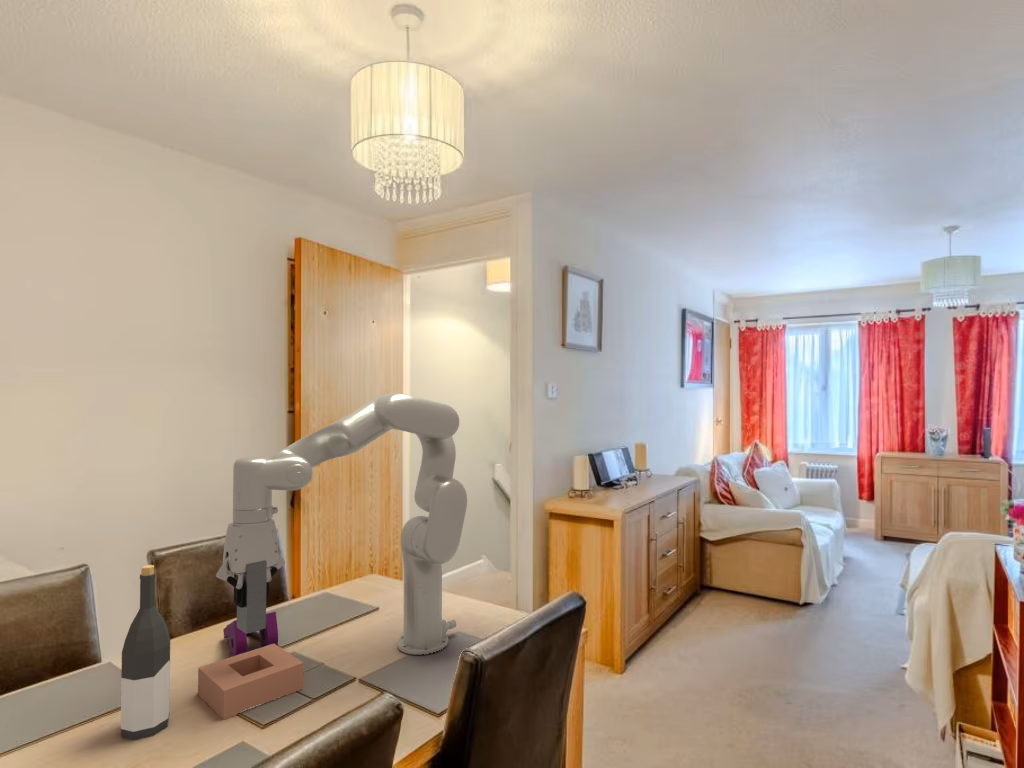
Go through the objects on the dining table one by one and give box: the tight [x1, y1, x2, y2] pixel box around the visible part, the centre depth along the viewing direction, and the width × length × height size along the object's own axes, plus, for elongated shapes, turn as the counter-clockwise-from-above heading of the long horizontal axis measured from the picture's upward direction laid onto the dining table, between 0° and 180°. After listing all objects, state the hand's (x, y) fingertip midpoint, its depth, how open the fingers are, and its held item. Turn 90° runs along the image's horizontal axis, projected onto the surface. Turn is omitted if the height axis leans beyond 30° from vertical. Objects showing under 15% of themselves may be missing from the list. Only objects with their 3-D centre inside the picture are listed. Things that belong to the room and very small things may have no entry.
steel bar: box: [236, 561, 267, 635], centre depth 121 cm, size 4×5×14 cm
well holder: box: [197, 644, 304, 721], centre depth 121 cm, size 16×14×6 cm
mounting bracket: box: [222, 611, 279, 657], centre depth 143 cm, size 10×8×18 cm
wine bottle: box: [120, 564, 171, 741], centre depth 108 cm, size 8×8×30 cm
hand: (251, 602), depth 121 cm, fingers closed on steel bar, 4 cm apart
